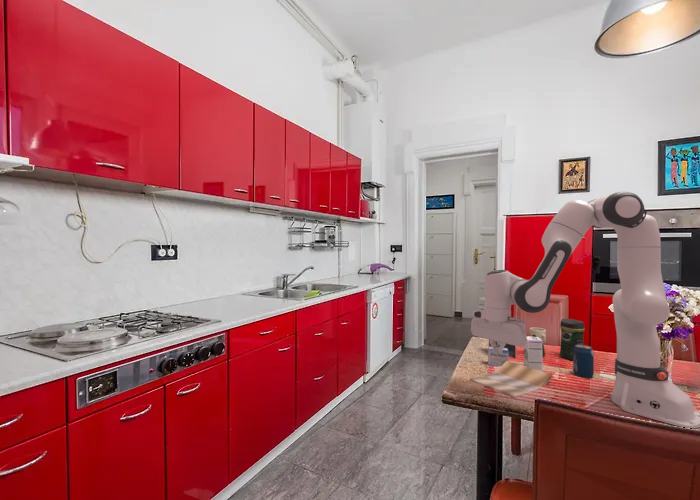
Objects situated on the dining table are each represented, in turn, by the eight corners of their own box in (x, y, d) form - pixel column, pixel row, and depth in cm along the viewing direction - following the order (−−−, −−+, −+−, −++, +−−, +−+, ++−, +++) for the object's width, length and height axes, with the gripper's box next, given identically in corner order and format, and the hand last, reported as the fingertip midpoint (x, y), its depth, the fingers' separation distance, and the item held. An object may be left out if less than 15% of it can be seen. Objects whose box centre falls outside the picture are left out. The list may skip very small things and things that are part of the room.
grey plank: (540, 391, 122) (540, 387, 122) (528, 396, 118) (528, 392, 118) (495, 375, 138) (495, 371, 138) (483, 379, 133) (483, 375, 133)
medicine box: (488, 368, 146) (488, 348, 146) (487, 365, 150) (487, 345, 150) (508, 370, 143) (508, 350, 143) (507, 367, 148) (507, 347, 148)
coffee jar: (588, 360, 156) (588, 321, 156) (574, 362, 154) (575, 322, 154) (569, 354, 166) (569, 317, 166) (556, 355, 163) (557, 317, 163)
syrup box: (543, 375, 138) (543, 340, 138) (527, 374, 139) (527, 339, 139) (538, 370, 144) (538, 336, 144) (523, 369, 145) (523, 335, 145)
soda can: (596, 376, 137) (597, 347, 137) (588, 379, 133) (588, 349, 133) (578, 371, 143) (578, 343, 143) (569, 374, 139) (569, 345, 139)
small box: (488, 351, 171) (488, 327, 171) (500, 350, 172) (501, 327, 172) (502, 359, 158) (502, 334, 158) (516, 359, 158) (516, 333, 158)
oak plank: (497, 374, 138) (496, 371, 138) (507, 363, 142) (506, 360, 142) (541, 390, 123) (540, 387, 122) (552, 377, 127) (551, 374, 126)
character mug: (523, 352, 169) (523, 326, 169) (537, 351, 170) (537, 326, 170) (538, 359, 158) (538, 331, 158) (552, 358, 159) (552, 331, 159)
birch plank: (527, 396, 118) (527, 392, 118) (514, 400, 114) (514, 396, 114) (482, 379, 133) (483, 376, 133) (469, 382, 129) (470, 378, 129)
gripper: (530, 318, 114) (530, 359, 114) (478, 309, 131) (479, 345, 131) (520, 320, 111) (520, 362, 111) (468, 311, 128) (468, 347, 128)
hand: (497, 353), depth 121 cm, fingers closed
